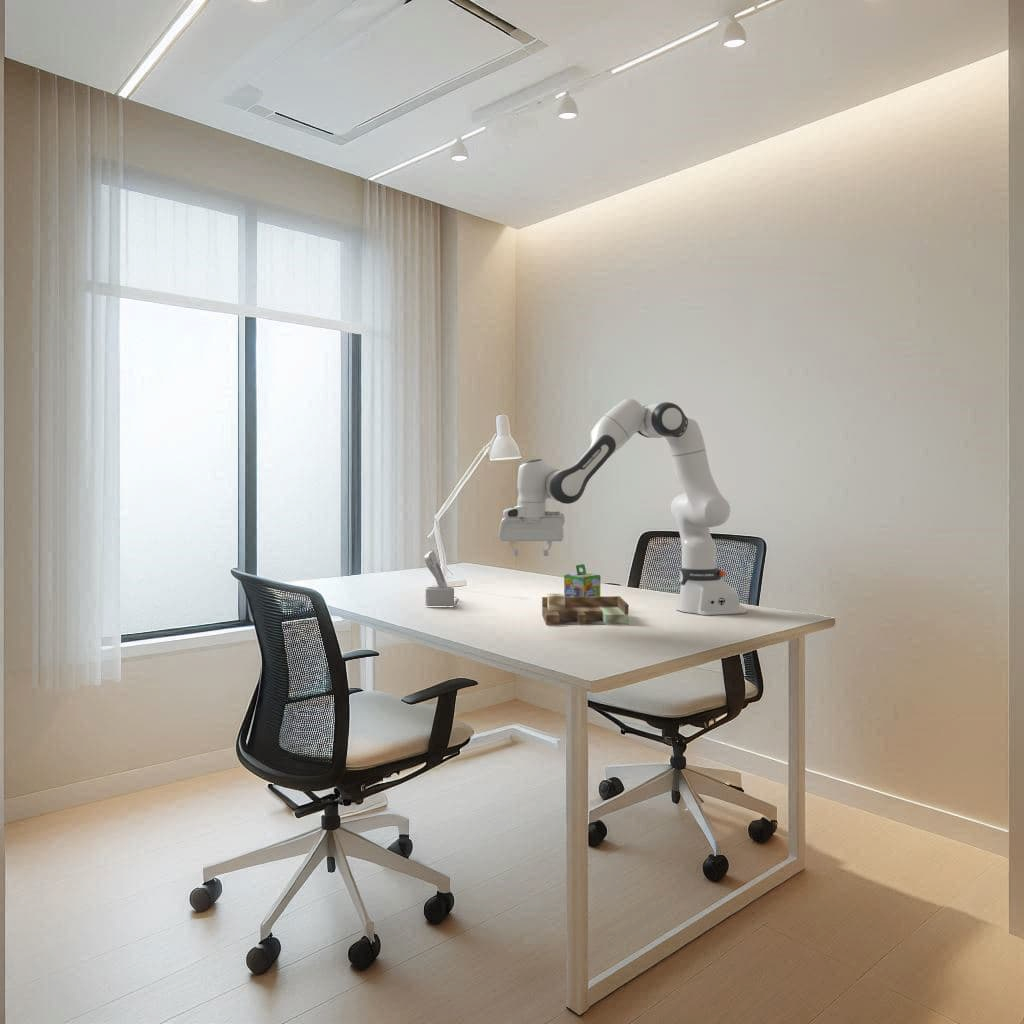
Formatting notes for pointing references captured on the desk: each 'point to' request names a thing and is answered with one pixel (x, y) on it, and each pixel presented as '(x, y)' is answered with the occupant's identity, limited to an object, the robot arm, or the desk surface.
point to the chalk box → (581, 584)
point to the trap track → (588, 611)
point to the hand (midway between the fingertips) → (530, 555)
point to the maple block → (556, 602)
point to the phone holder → (442, 592)
